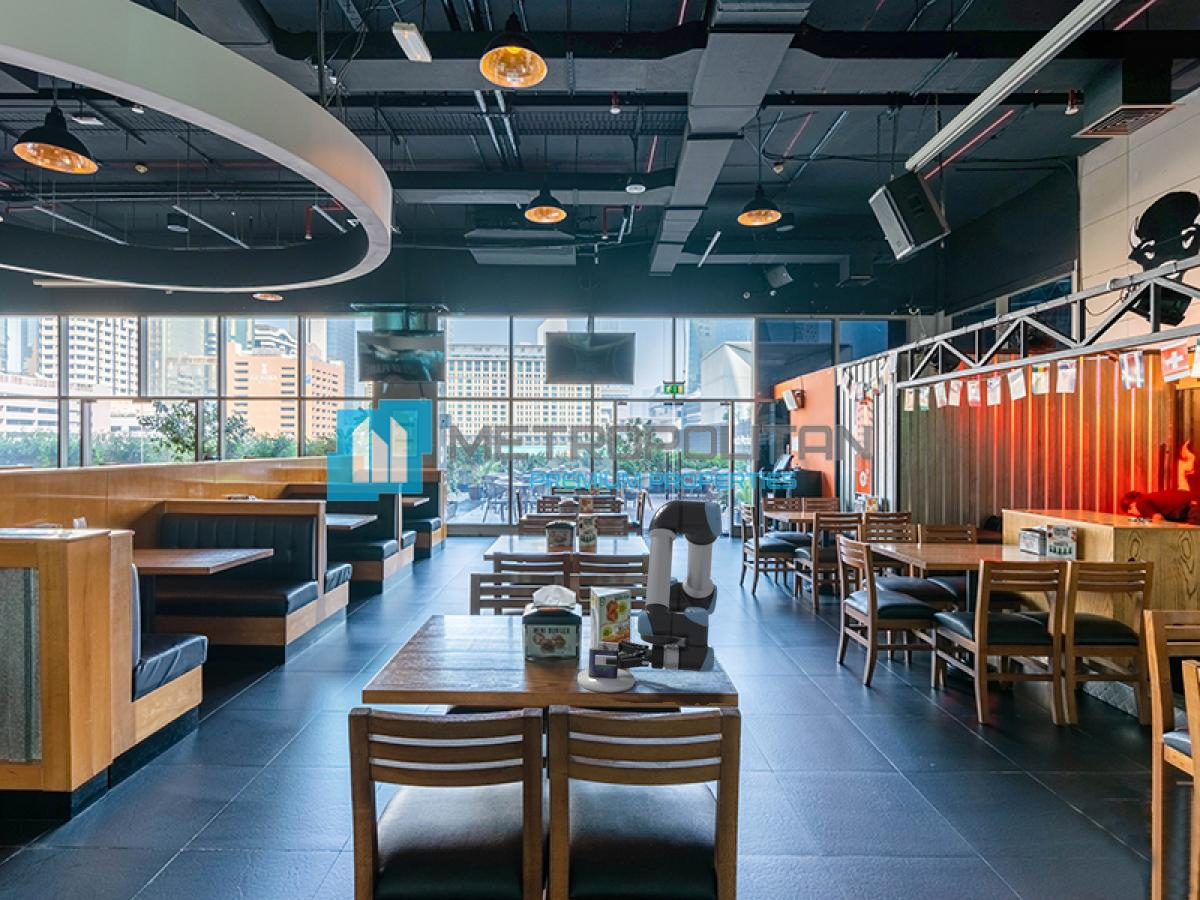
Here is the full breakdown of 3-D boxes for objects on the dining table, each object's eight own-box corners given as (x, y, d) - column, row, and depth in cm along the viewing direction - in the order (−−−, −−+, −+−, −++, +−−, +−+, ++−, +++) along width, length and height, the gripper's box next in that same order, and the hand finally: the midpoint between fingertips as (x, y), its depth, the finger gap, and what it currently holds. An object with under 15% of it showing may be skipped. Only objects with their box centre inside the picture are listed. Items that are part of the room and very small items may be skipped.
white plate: (580, 670, 228) (580, 665, 228) (634, 673, 227) (635, 669, 227) (574, 690, 210) (574, 685, 210) (633, 694, 209) (634, 689, 209)
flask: (588, 677, 217) (589, 643, 217) (588, 674, 220) (590, 640, 220) (617, 679, 217) (618, 645, 217) (617, 675, 220) (619, 642, 220)
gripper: (663, 633, 230) (599, 629, 231) (665, 657, 205) (594, 653, 206) (662, 655, 230) (599, 652, 231) (664, 682, 205) (593, 678, 206)
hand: (596, 652), depth 219 cm, fingers open, 13 cm apart
